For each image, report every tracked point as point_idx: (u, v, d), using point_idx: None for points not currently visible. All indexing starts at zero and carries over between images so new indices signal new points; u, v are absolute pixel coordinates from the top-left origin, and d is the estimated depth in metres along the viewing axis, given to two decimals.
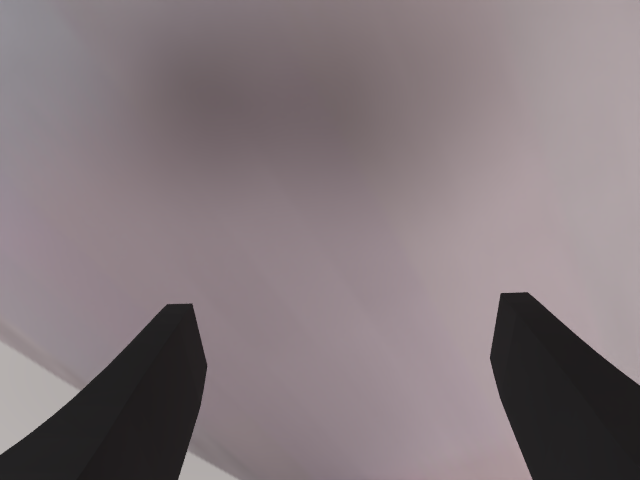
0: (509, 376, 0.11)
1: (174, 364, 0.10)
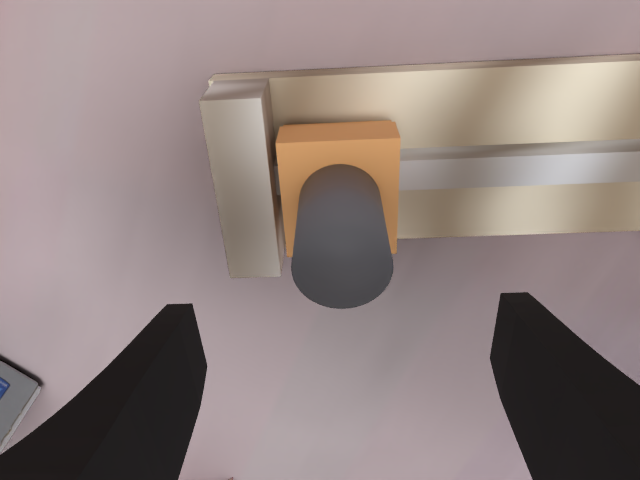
0: (509, 376, 0.11)
1: (174, 364, 0.10)
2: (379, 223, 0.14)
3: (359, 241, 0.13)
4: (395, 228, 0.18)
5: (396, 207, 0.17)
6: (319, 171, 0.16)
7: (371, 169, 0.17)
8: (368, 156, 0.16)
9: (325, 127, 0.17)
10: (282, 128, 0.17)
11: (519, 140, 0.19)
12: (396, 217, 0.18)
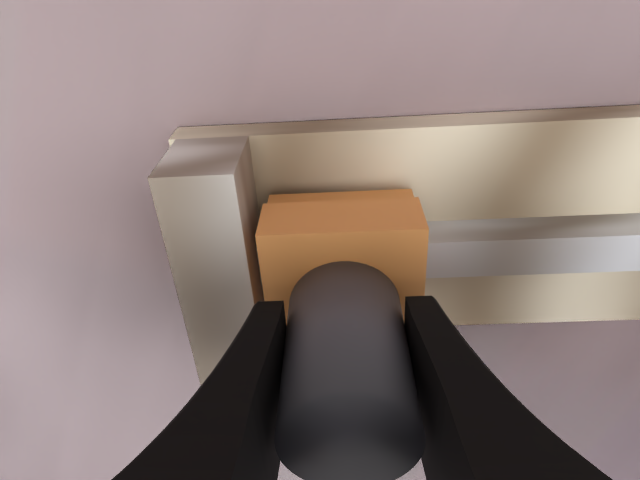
0: None
1: (276, 361, 0.10)
2: (404, 372, 0.10)
3: (375, 413, 0.09)
4: None
5: None
6: (316, 272, 0.12)
7: (387, 268, 0.12)
8: (384, 252, 0.12)
9: (325, 205, 0.13)
10: (266, 206, 0.13)
11: (578, 211, 0.15)
12: None
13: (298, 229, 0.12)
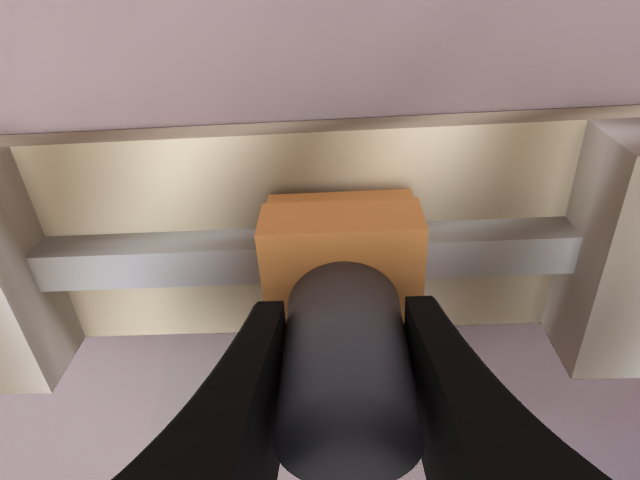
0: None
1: (276, 361, 0.10)
2: (403, 373, 0.10)
3: (374, 413, 0.09)
4: None
5: None
6: (315, 272, 0.12)
7: (387, 268, 0.12)
8: (383, 252, 0.12)
9: (324, 206, 0.13)
10: (265, 206, 0.13)
11: None
12: None
13: (297, 229, 0.12)
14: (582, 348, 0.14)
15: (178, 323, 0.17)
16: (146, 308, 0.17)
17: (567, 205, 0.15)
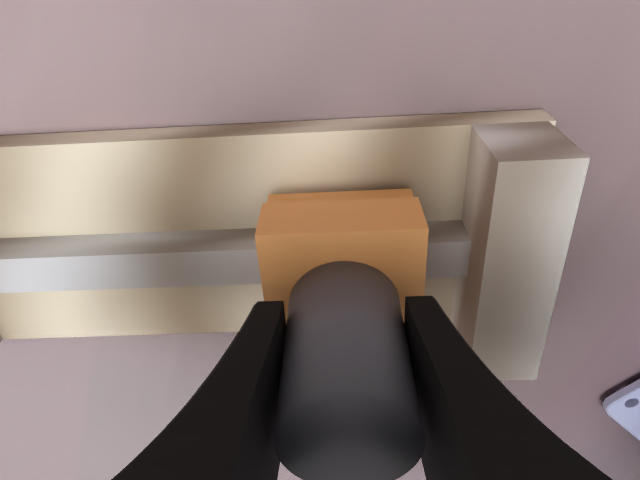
0: None
1: (276, 361, 0.10)
2: (403, 372, 0.10)
3: (374, 413, 0.09)
4: None
5: None
6: (315, 272, 0.12)
7: (387, 268, 0.12)
8: (383, 252, 0.12)
9: (324, 205, 0.13)
10: (265, 206, 0.13)
11: (250, 224, 0.15)
12: None
13: (297, 229, 0.12)
14: (474, 351, 0.14)
15: (92, 325, 0.17)
16: (59, 311, 0.17)
17: (462, 209, 0.15)
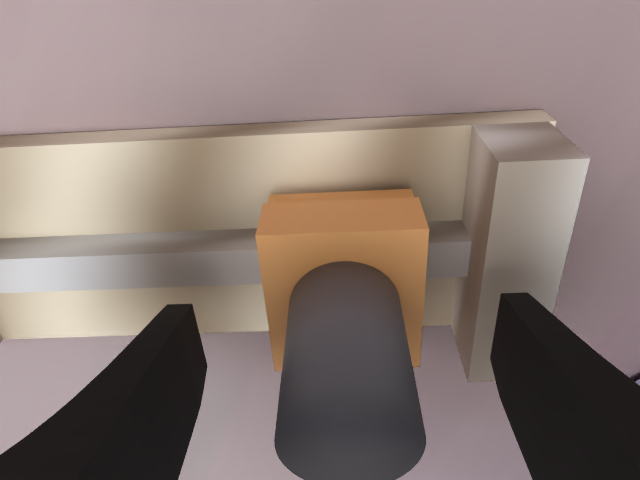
0: (509, 376, 0.11)
1: (174, 364, 0.10)
2: (404, 372, 0.10)
3: (375, 413, 0.09)
4: (419, 338, 0.13)
5: (420, 313, 0.13)
6: (316, 272, 0.12)
7: (388, 268, 0.12)
8: (384, 252, 0.12)
9: (325, 205, 0.13)
10: (266, 206, 0.13)
11: (251, 224, 0.15)
12: (420, 325, 0.13)
13: (298, 229, 0.12)
14: (474, 351, 0.14)
15: (93, 326, 0.17)
16: (60, 311, 0.17)
17: (462, 209, 0.15)
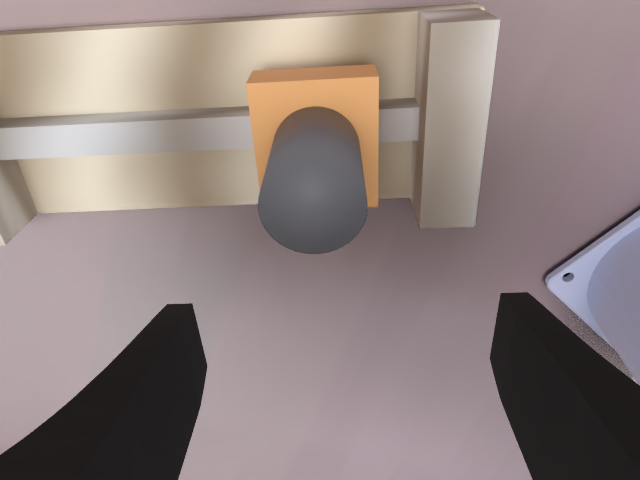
0: (509, 376, 0.11)
1: (174, 364, 0.10)
2: (353, 160, 0.13)
3: (329, 176, 0.12)
4: (376, 178, 0.17)
5: (376, 155, 0.16)
6: (293, 114, 0.15)
7: (348, 112, 0.16)
8: (345, 98, 0.15)
9: (301, 70, 0.16)
10: (255, 71, 0.16)
11: (244, 102, 0.19)
12: (376, 166, 0.17)
13: (279, 80, 0.15)
14: (422, 198, 0.18)
15: (113, 199, 0.21)
16: (86, 185, 0.21)
17: (414, 87, 0.18)
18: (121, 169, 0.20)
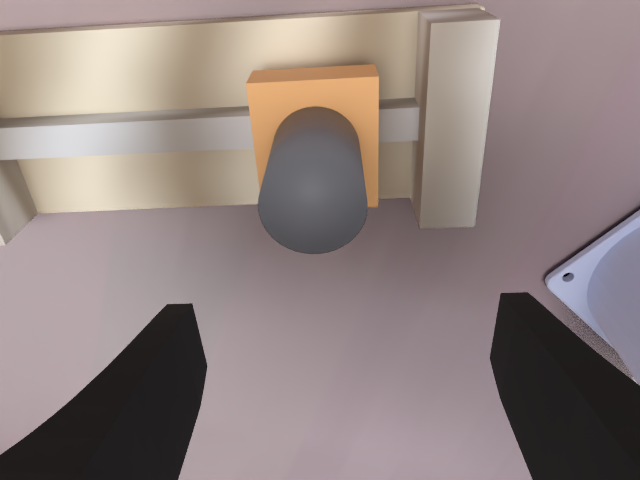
0: (509, 376, 0.11)
1: (174, 364, 0.10)
2: (353, 160, 0.13)
3: (329, 176, 0.12)
4: (376, 178, 0.17)
5: (376, 155, 0.16)
6: (293, 114, 0.15)
7: (348, 112, 0.16)
8: (345, 98, 0.15)
9: (301, 70, 0.16)
10: (255, 71, 0.16)
11: (244, 102, 0.19)
12: (376, 166, 0.17)
13: (279, 80, 0.15)
14: (422, 198, 0.18)
15: (113, 199, 0.21)
16: (86, 185, 0.21)
17: (414, 87, 0.18)
18: (121, 169, 0.20)
